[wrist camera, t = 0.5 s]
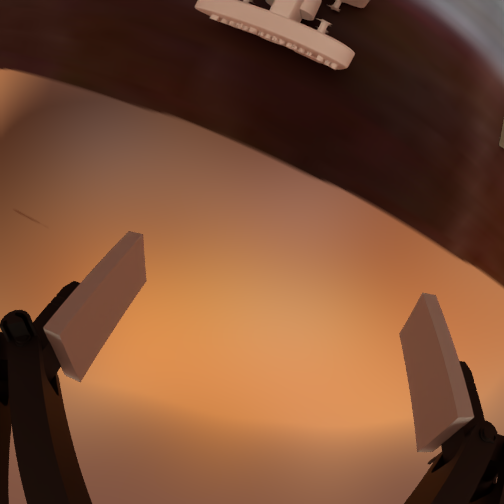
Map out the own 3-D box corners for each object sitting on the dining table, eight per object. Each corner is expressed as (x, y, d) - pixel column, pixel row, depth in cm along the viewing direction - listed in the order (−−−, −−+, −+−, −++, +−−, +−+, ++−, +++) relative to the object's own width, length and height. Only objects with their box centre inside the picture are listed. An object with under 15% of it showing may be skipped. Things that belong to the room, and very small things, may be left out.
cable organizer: (372, 5, 26) (396, -21, 16) (336, 74, 32) (346, 74, 22) (254, -43, 25) (231, -81, 15) (219, 26, 31) (183, 10, 21)
